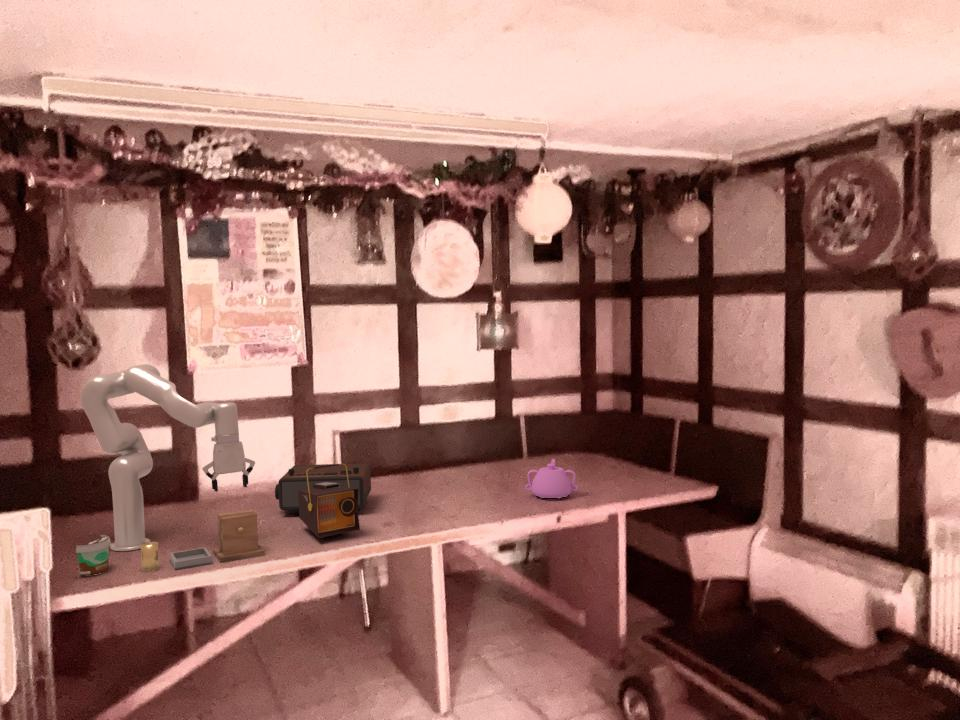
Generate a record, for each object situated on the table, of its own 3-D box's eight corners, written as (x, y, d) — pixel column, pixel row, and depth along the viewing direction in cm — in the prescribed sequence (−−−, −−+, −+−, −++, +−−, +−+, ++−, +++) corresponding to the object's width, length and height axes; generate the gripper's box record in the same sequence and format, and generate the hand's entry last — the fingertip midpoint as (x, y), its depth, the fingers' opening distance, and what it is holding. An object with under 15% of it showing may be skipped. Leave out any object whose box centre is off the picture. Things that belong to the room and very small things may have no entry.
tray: (170, 560, 250) (169, 552, 250) (205, 554, 256) (205, 547, 256) (175, 570, 241) (174, 562, 241) (212, 563, 246) (211, 556, 246)
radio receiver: (273, 518, 299) (271, 472, 298) (288, 501, 326) (286, 459, 325) (364, 516, 301) (362, 470, 299) (371, 499, 327) (370, 456, 326)
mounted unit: (213, 552, 258) (211, 512, 257) (255, 545, 264) (254, 506, 263) (220, 562, 247) (218, 521, 246) (264, 555, 254) (263, 514, 253)
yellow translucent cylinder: (141, 568, 243) (139, 543, 243) (158, 565, 246) (156, 540, 245) (142, 572, 239) (141, 547, 239) (160, 569, 242) (159, 544, 241)
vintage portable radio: (319, 546, 262) (316, 473, 261) (292, 531, 281) (289, 463, 280) (362, 537, 272) (360, 466, 270) (333, 523, 291) (331, 457, 289)
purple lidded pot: (578, 489, 336) (578, 458, 335) (577, 502, 315) (577, 468, 314) (528, 489, 339) (527, 457, 338) (523, 501, 318) (523, 467, 317)
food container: (95, 579, 234) (93, 546, 234) (77, 578, 235) (75, 546, 235) (121, 565, 246) (119, 534, 246) (103, 565, 247) (102, 534, 247)
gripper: (202, 443, 255) (206, 494, 256) (255, 437, 264) (258, 487, 265) (198, 440, 262) (202, 490, 263) (250, 434, 270) (253, 483, 271)
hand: (230, 488), depth 264 cm, fingers open, 9 cm apart
